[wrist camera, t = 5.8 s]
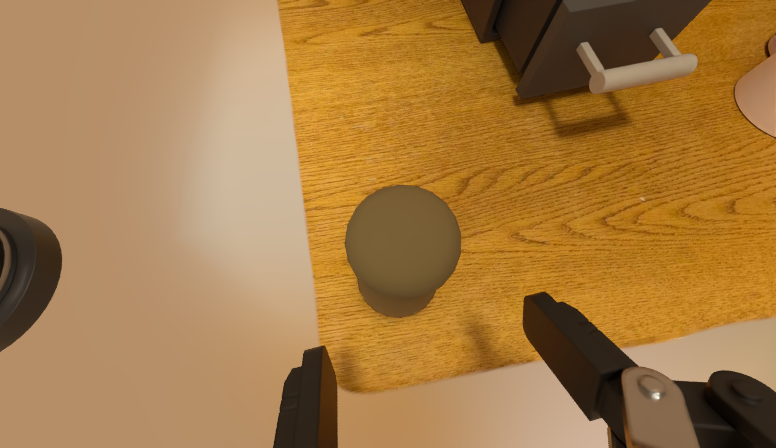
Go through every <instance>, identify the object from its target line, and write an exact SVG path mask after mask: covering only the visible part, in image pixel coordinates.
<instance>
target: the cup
mask: <svg viewBox="0 0 776 448" xmlns="http://www.w3.org/2000/svg"><path fill="white" fill-rule="evenodd" d="M735 99H736V102H737V104H738V106H739V108H740V110H741V111H742V113H743V114H744V115H745V116H746V118H747V119H748V120H749V121H750V122H752V123H753V124H754V125H755V126H756V127H758V128H759V129H761V130H762V131H764V132H766V133H767V134H769V135H771V136H774V137H776V53H774V54H773V55H772V56H770V57H769V58H767V59H766V60H765V61H763V62H762V63H760V64H759V65H758V66H756V67H755V68H753V69H752V70H751V71H749V72H748V73H746V74H745V75H744V76H742V77H741V78H740V79H739V80H738V82H737V84H736V86H735Z"/></svg>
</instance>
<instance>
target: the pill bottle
mask: <svg viewBox="0 0 776 448" xmlns="http://www.w3.org/2000/svg"><path fill="white" fill-rule="evenodd" d="M768 50H769V53H770V56H772V55H773V54H774V53H776V34H775V35H774V36H773V37H772V38H771V39H770V41H769V43H768Z"/></svg>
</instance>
